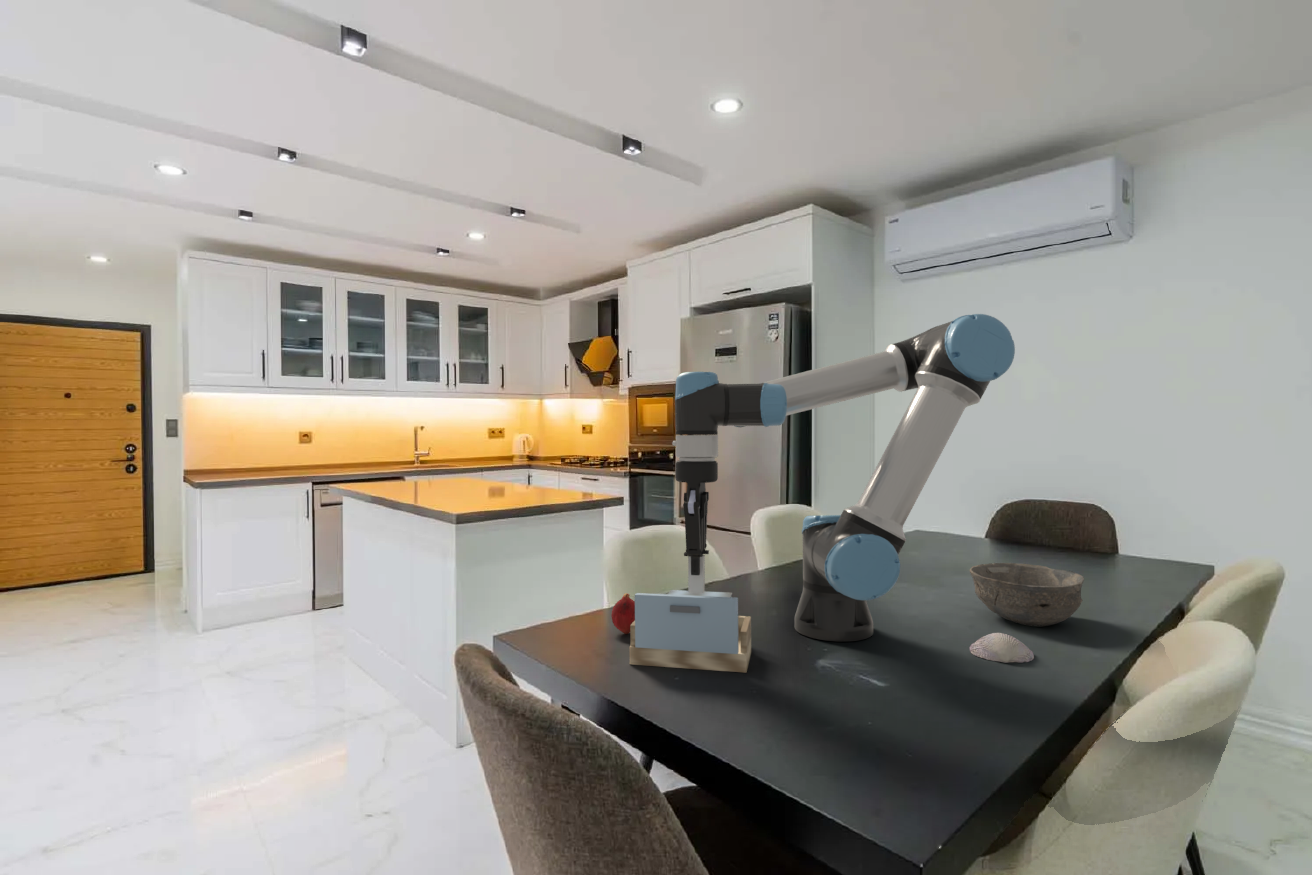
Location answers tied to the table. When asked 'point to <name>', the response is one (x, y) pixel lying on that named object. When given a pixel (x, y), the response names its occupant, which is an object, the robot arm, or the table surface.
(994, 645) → the seashell
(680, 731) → the table surface
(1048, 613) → the bowl
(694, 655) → the open wooden box
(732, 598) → the panel
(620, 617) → the onion
